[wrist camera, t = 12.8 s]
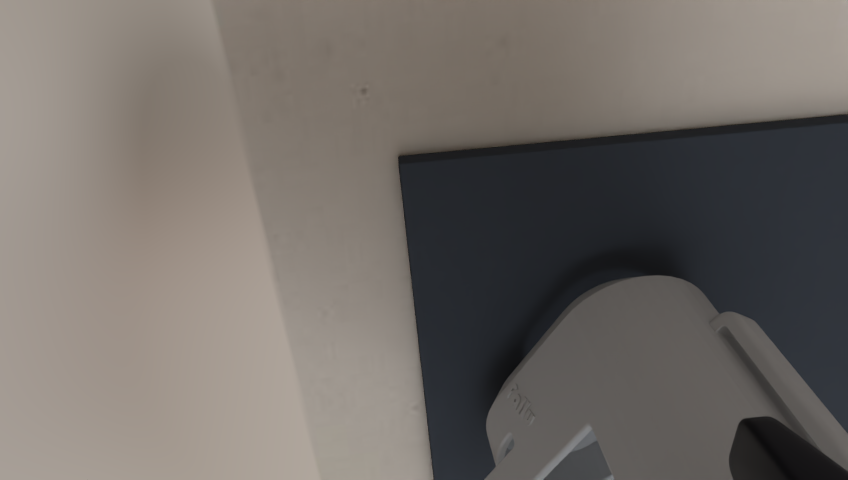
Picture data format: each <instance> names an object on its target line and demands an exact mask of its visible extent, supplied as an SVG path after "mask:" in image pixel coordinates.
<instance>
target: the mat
mask: <svg viewBox="0 0 848 480" xmlns="http://www.w3.org/2000/svg"><path fill="white" fill-rule="evenodd" d="M398 161H399V173H400V182H401V191H402V200H403V208H404V217H405V226H406V235H407V244H408V253H409V262H410V271H411V280H412V289H413V297H414V306H415V315H416V324H417V333H418V342H419V351H420V360H421V369H422V377H423V386H424V395H425V404H426V413H427V422H428V431H429V440H430V449H431V458H432V466H433V475H434V480H484V479H485V478H486V477H487V476H488V475H489V474H490V473H491V471H492V470H493V469H494V468H495V467H496V465H495V461H494V457H493V454H492V450H491V447H490V443H489V439H488V436H487V431H486V420H487V416H488V413H489V410H490V409H491V407H492V405H493V403H494V401H495V399H496V397H497V395H498V393H499V391H500V390H501V388H502V386H503V384H504V382H505V381H506V380H507V378H508V377H509V376H510V374H511V373H512V372H513V371H514V370H515V369H516V367H517V366H518V365H519V364H520V363H521V361H522V360H523V359H524V358H525V357H526V355H527V354H528V353H529V352H530V351H531V349H532V348H533V347H534V346H535V345H536V343H537V342H538V341H539V340H540V339H541V337H542V336H543V335H544V334H545V333H546V331H547V330H548V329H549V328H550V327H551V325H552V324H553V323H554V322H555V321H556V319H557V318H558V317H559V316H560V315H561V313H562V312H563V311H564V310H565V309H566V308H567V307H568V306H569V305H570V304H571V303H572V302H573V301H574V300H575V299H576V298H578V297H579V296H581V295H582V294H583V293H585V292H587V291H588V290H590V289H592V288H594V287H596V286H598V285H601V284H603V283H606V282H609V281H613V280H617V279H623V278H632V277H641V276H655V275H660V276H671V277H675V278H680V279H683V280H685V281H687V282H690V283H692V284H693V285H695V286H696V287H697V288H699V289H700V290H701V291H702V292H703V294H704V295H705V296H706V297H707V299H708V300H709V301H710V302H711V304H712V305H713V306H714V308H715V309H716V310H717V312H718V313H719V314H721V313H723V312H735V313H738V314H740V315H743V316H745V317H748V318H750V319H752V320H754V321H755V322H756V323H757V324H758V325H759V327H760V328H761V329H762V330H763V331H764V333H765V334H766V335H767V336H768V337H769V339H770V340H771V341H772V342H773V344H774V345H775V346H776V347H777V348H778V350H779V351H780V352H781V353H782V354H783V356H784V357H785V358H786V359H787V361H788V362H789V363H790V364H791V365H792V367H793V368H794V369H795V370H796V371H797V373H798V374H799V375H800V376H801V378H802V379H803V380H804V381H805V382H806V384H807V385H808V386H809V387H810V389H811V390H812V391H813V392H814V393H815V395H816V396H817V397H818V398H819V399H820V401H821V402H822V403H823V404H824V406H825V407H826V408H827V409H828V410H829V412H830V413H831V414H832V415H833V416H834V418H835V419H836V420H837V421H838V423H839V424H840V425H841V426H842V427H843V429H844V430H845V431H846V432H847V434H848V115H838V116H828V117H817V118H806V119H795V120H785V121H774V122H763V123H752V124H741V125H731V126H720V127H709V128H698V129H688V130H677V131H666V132H655V133H645V134H634V135H623V136H612V137H602V138H591V139H580V140H569V141H558V142H548V143H537V144H526V145H515V146H505V147H494V148H483V149H472V150H462V151H451V152H440V153H429V154H418V155H408V156H399V158H398Z"/></svg>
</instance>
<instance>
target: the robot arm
mask: <svg viewBox="0 0 848 480" xmlns="http://www.w3.org/2000/svg"><path fill="white" fill-rule="evenodd" d="M729 467H730V472H731V475H732V478H733V480H848V471H847V470H846V469H844V468H843V467H842V466H840V465H839V464H837V463H836V462H835V461H833V460H832V459H831V458H829V457H828V456H826V455H825V454H824V453H822V452H821V451H820V450H818V449H817V448H815V447H814V446H813V445H811V444H810V443H809V442H807V441H806V440H804V439H803V438H802V437H800V436H799V435H798V434H796V433H795V432H793V431H792V430H791V429H789V428H788V427H787V426H785V425H784V424H782V423H781V422H780V421H778V420H777V419H775V418H773V417H769V416H762V417H751V418H744V419H742V420H741V421H740V422H739V424H738V426H737V430H736V433H735V436H734V440H733V443H732V447H731V450H730V454H729Z"/></svg>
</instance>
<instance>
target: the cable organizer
mask: <svg viewBox="0 0 848 480" xmlns="http://www.w3.org/2000/svg"><path fill="white" fill-rule="evenodd" d="M762 416H769V417H773V418H775V419H777V420H778V421H780V422H781V423H782V424H784V425H785V426H787V427H788V428H789V429H791V430H792V431H793V432H795V433H796V434H798V435H799V436H800V437H802V438H803V439H804V440H806V441H807V442H809V443H810V444H811V445H813V446H814V447H815V448H817V449H818V450H820V451H821V452H822V453H824V454H825V455H826V456H828V457H829V458H831V459H832V460H833V461H835V462H836V463H837V464H839V465H840V466H842V467H843V468H844V469H846V470H847V471H848V434H847V432H846V431H845V430H844V429H843V427H842V426H841V425H840V424H839V423H838V421H837V420H836V419H835V418H834V416H833V415H832V414H831V413H830V412H829V410H828V409H827V408H826V407H825V406H824V404H823V403H822V402H821V401H820V399H819V398H818V397H817V396H816V395H815V393H814V392H813V391H812V390H811V389H810V387H809V386H808V385H807V384H806V382H805V381H804V380H803V379H802V378H801V376H800V375H799V374H798V373H797V371H796V370H795V369H794V368H793V367H792V365H791V364H790V363H789V362H788V361H787V359H786V358H785V357H784V356H783V354H782V353H781V352H780V351H779V350H778V348H777V347H776V346H775V345H774V344H773V342H772V341H771V340H770V339H769V337H768V336H767V335H766V334H765V333H764V331H763V330H762V329H761V328H760V327H759V325H758V324H757V323H756V322H755V321H754V320H752V319H750V318H748V317H745V316H743V315H740V314H738V313H735V312H723V313H721V314H719V313H718V312H717V310H716V309H715V308H714V306H713V305H712V304H711V302H710V301H709V300H708V299H707V297H706V296H705V295H704V294H703V292H702V291H701V290H700V289H699V288H697V287H696V286H695V285H693V284H692V283H690V282H687V281H685V280H683V279H680V278H675V277H671V276H660V275H655V276H641V277H632V278H623V279H617V280H613V281H609V282H606V283H603V284H601V285H598V286H596V287H594V288H592V289H590V290H588V291H587V292H585V293H583V294H582V295H581V296H579V297H578V298H576V299H575V300H574V301H573V302H572V303H571V304H570V305H569V306H568V307H567V308H566V309H565V310H564V311H563V312H562V313H561V315H560V316H559V317H558V318H557V319H556V321H555V322H554V323H553V324H552V325H551V327H550V328H549V329H548V330H547V331H546V333H545V334H544V335H543V336H542V337H541V339H540V340H539V341H538V342H537V343H536V345H535V346H534V347H533V348H532V349H531V351H530V352H529V353H528V354H527V355H526V357H525V358H524V359H523V360H522V361H521V363H520V364H519V365H518V366H517V367H516V369H515V370H514V371H513V372H512V373H511V374H510V376H509V377H508V378H507V380H506V381H505V382H504V384H503V386H502V388H501V390H500V391H499V393H498V395H497V397H496V399H495V401H494V403H493V405H492V407H491V409H490V410H489V413H488V416H487V420H486V431H487V436H488V439H489V443H490V447H491V450H492V454H493V457H494V461H495V465H496V467H495V468H494V469H493V470H492V471H491V473H490V474H489V475H488V476H487V477H486V478H485V479H484V480H733V478H732V475H731V472H730V467H729V454H730V450H731V447H732V443H733V440H734V436H735V433H736V430H737V426H738V424H739V422H740V421H741V420H742V419H744V418H751V417H762Z"/></svg>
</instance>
